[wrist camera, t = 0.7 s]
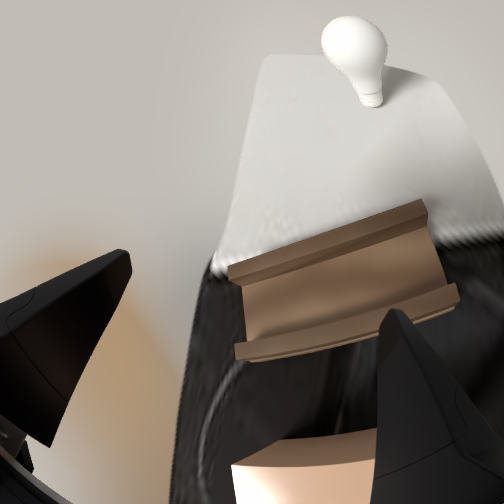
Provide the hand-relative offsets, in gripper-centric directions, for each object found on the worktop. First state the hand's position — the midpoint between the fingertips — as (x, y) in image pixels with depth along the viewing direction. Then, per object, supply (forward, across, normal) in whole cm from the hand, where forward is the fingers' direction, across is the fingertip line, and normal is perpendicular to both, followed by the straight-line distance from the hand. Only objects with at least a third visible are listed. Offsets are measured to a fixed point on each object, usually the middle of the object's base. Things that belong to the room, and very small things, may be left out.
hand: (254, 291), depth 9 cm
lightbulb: (+25, -8, -6) cm, 26 cm away
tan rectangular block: (-1, -9, +13) cm, 16 cm away
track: (+9, -6, +7) cm, 13 cm away
